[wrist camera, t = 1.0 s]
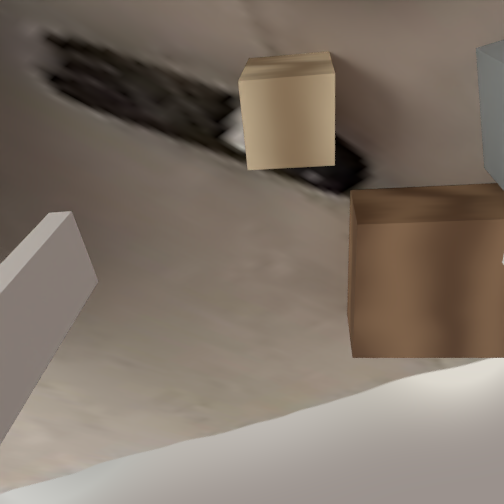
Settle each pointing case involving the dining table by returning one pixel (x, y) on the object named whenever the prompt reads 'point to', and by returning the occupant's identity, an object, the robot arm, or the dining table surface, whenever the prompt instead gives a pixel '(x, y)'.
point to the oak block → (288, 111)
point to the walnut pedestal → (427, 272)
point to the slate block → (492, 107)
